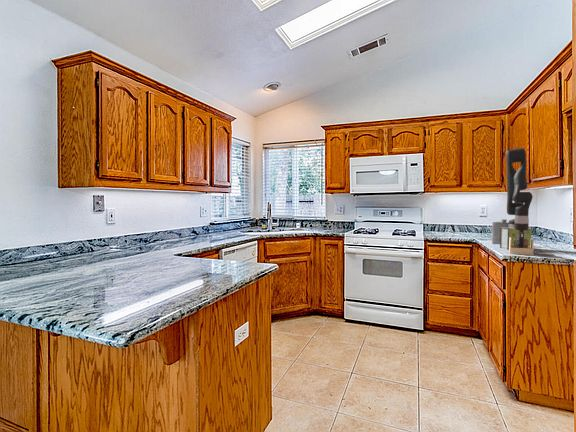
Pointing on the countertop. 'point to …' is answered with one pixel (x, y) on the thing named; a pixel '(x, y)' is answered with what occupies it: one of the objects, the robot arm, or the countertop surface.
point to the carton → (521, 249)
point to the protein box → (512, 236)
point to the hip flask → (498, 230)
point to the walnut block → (516, 243)
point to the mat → (545, 254)
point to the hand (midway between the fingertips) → (520, 248)
